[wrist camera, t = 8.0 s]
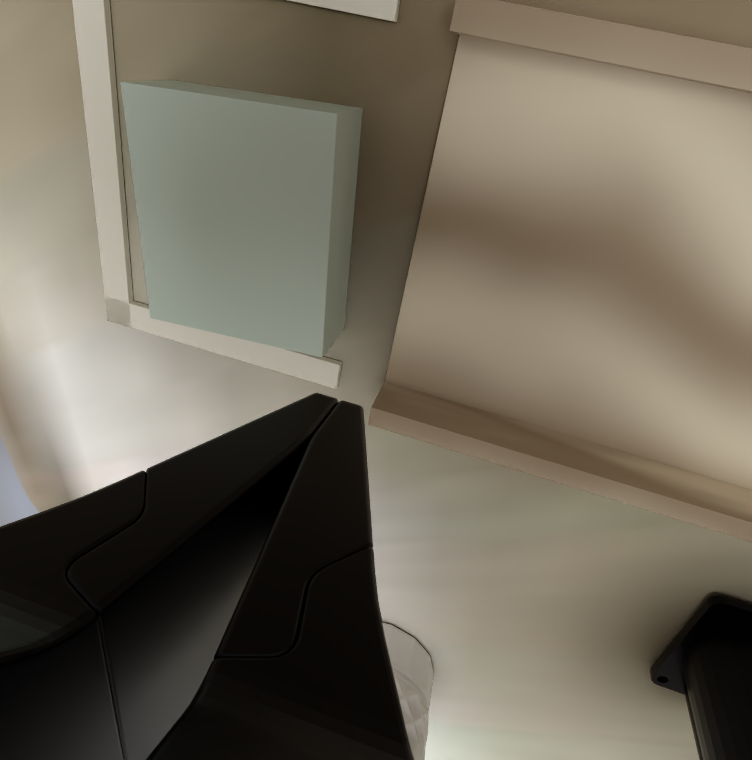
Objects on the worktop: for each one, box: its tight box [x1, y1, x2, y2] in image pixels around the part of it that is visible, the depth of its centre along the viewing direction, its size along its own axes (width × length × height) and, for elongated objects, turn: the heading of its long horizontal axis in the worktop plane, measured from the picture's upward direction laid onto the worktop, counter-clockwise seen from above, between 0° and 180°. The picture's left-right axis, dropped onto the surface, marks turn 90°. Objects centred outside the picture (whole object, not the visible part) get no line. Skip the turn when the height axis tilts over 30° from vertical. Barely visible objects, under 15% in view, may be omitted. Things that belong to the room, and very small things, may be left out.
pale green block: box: [120, 80, 363, 357], centre depth 19 cm, size 8×7×3 cm
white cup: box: [382, 623, 434, 760], centre depth 28 cm, size 8×8×10 cm
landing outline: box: [72, 0, 400, 389], centre depth 20 cm, size 14×11×1 cm
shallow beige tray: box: [368, 0, 752, 542], centre depth 17 cm, size 14×16×2 cm
